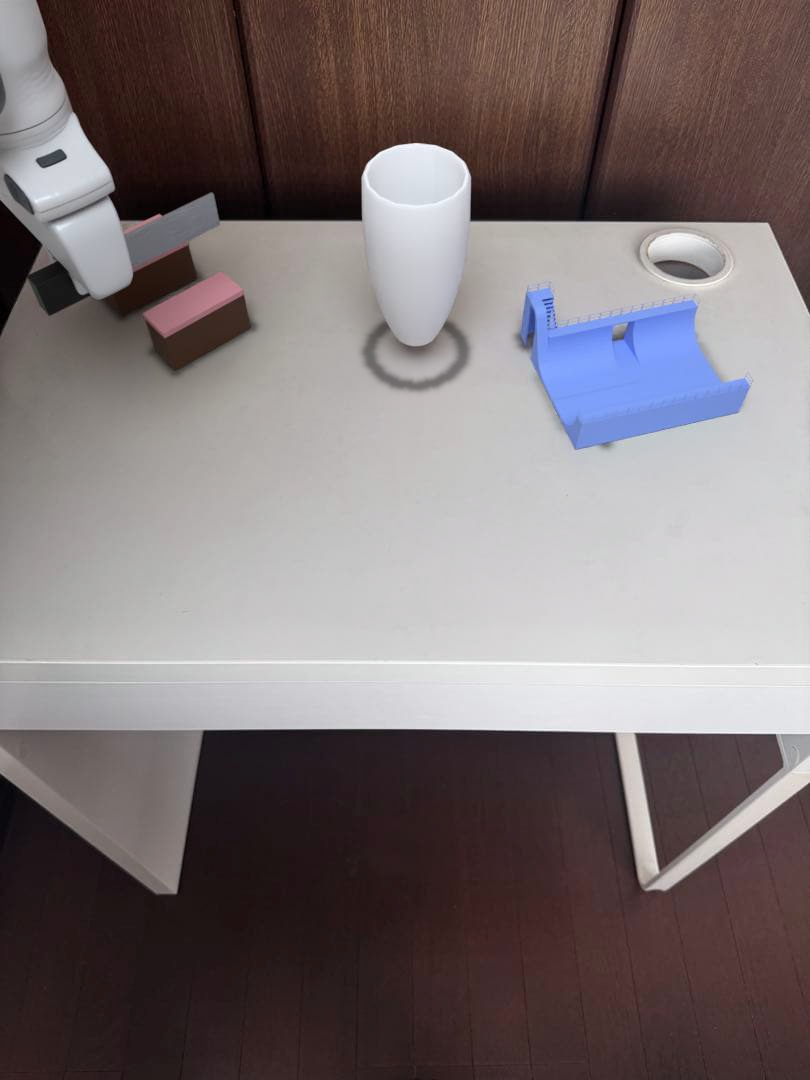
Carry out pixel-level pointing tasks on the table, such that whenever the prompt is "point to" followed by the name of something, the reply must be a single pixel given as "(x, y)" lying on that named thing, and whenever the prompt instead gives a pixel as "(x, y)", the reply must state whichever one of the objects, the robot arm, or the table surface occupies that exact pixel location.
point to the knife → (130, 250)
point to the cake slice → (197, 320)
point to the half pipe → (626, 371)
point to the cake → (154, 277)
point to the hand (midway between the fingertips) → (76, 279)
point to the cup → (416, 235)
